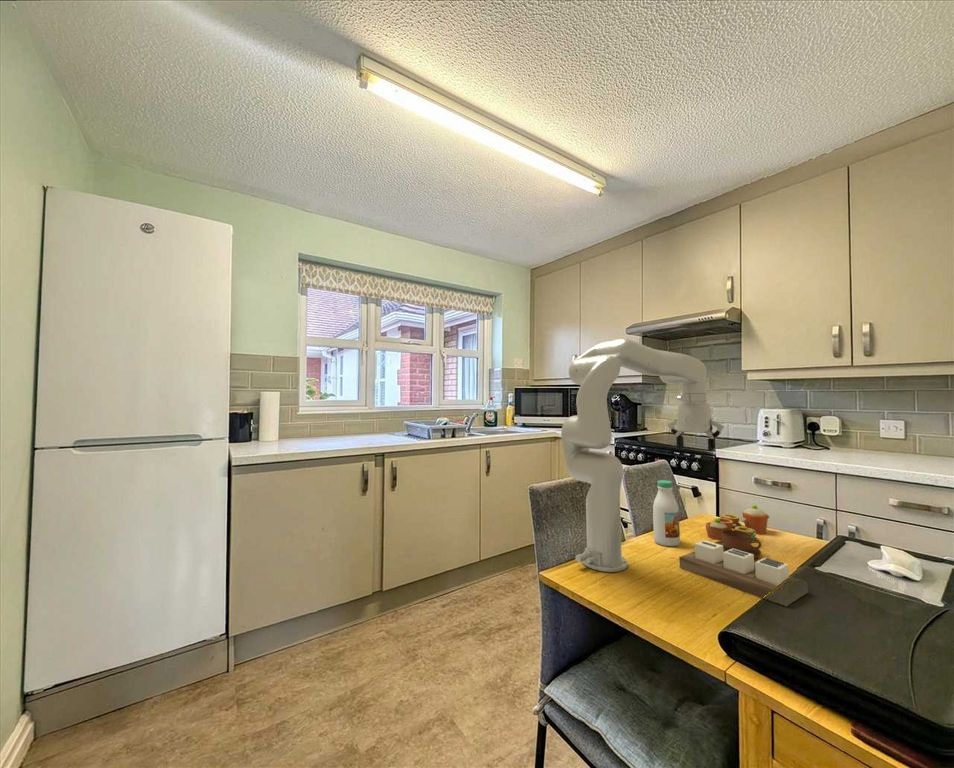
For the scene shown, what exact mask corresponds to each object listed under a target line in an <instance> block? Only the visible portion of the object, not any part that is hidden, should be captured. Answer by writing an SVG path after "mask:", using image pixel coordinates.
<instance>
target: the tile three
mask: <svg viewBox="0 0 954 768" xmlns="http://www.w3.org/2000/svg"><path fill="white" fill-rule="evenodd" d="M754 564H755V568H756V578H757V579H760V580H763V581H766V582H769V583H772V584H775V585H779V584H781V583H782V582H783V581H784V580H785V579H787V578H788V577H789V575H790V572H789V571H790V570H789V569H790V568H789V564H788V563H784V562H783V561H778V560H775V559H772V558H769V557H763V558H761V559H759V560H756V561H754Z"/></svg>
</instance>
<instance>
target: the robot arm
mask: <svg viewBox="0 0 954 768" xmlns="http://www.w3.org/2000/svg"><path fill="white" fill-rule="evenodd" d="M621 368H624V369H627V370H631V371H633V372H637V373H639V374H642V375H645V376H654V377H659V379H660V380H661V382H662V383H665V384H668V385H680V388H681V389H680V390H681V391H680V395H678V396H677V400H678V401H680V402H681V403H680V402H679V403H678V407H677V413H676V420H674V421H672V422H670V423H668V428H669V430H670V431H671V433H672V434H673V435H674V437H675V438H676V446H677V449H680V450H681V449H683V448H684V447H685V445H684V436H683V435H684V434H685V433H696V434H698V433H699V434H706V435H707V437H708V439H707V450H708V452H714V451H715V449H716V439H717V437H719V435H721V433H722V431H723V430H724V428H725V426H724V425H723V424H721V423H718V422H716V421H715V420H713V418H712V411H711V407H710V403H709V402H707V400H708V399H707V368H706V365H705V364H704V363H703V362H702V361H701V360H700V359H698V358H696V357H693V356H691V355H688V354H685V353H680V352H679V353H678V352H673V351H668V350H661V349H660V350H659V349H655V348H652V347H649V346H646V345H645V344H642V343H640V342H637V341H634V340H632V339H629V338H617V339H613V340H606V341H602V342H599V343H597V344H596V345H594V346H593V347H590V349H588V350H586V351H585V352H584V353H583V354H581V355H579V356H578V357H576V358H575V359H574V360H573V361H572V362H571V363H570V365H569V367H568V376H569V378H570V380H571V382H572V383H573V384H575V385H578V386H579V389H578V391H577V395H576V400H575V401H576V402H575V403H576V412H577V414H576V415H572V416H568V418H566V419H565V420H564V422H563V423H562V426H561V433H560V437H561V443H562V448H563V455H564V460H565V466H566V469H567V472H568V474H569V475H570V476H571V477H572V478H573V479H575V480H577V481H580V482H583V483H588V484H590V488H589V489H588V492H587V494H586V497H585V516H586V517H585V519H586V523H585V525H586V547H584V551H583V552H582V553H580V554H579V553H578V554H575V557H574V558H575V561H576V562H577V563H582V564H583V565H584V566H585V567H587V568H589V569H592V570H594V571H597V572H598V571H599V572H606V573H616V572H622V571H624V570H626V569H627V568H628V560H627V559H626V558H625V556H623V555H622V554H623V553H622V552H623V551H622V526H621V525H622V523H621V521H622V518H621V515H622V514H621V489H622V488H621V486H622V481H623V478H624V477H623V476H624V468H623V464H622V462H621V460H620V459H619V458H618V457H617V456H615V455H613V454H611V453H607V452H602V451H601V452H600V451H593V450H602V449H606V448H608V447H609V446H610V445H611V443H612V440H613V439H612V428H611V422H610V416H609V410H608V402H607V401H608V400H607V399H608V394H609V391H610V388H611V387H612V386H613V384H614V383H615V381H616V380H617V379H618V377H619V375H620V372H621ZM675 426H676V428H675ZM713 427H716V430H715V431H713V429H714V428H713ZM591 449H593V450H591Z"/></svg>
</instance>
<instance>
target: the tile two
mask: <svg viewBox="0 0 954 768" xmlns="http://www.w3.org/2000/svg"><path fill="white" fill-rule="evenodd" d="M723 561H724V568H727V569H730V570H733V571H736V572H739V573H742V574H745V575H746V574H748V573H750V572H752V571H754V564H755V558H754V554H750V553H747V552H744V551H740V550H737V549H730V550H728V551H725V552H723Z"/></svg>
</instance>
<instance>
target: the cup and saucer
mask: <svg viewBox="0 0 954 768" xmlns="http://www.w3.org/2000/svg"><path fill="white" fill-rule="evenodd" d="M752 541H756V542H757V543H758V545H756V546H755V545H752V543H753V542H752ZM714 543H716V544H719V545H723V552H725V551H728V550H730V549H737V550H740V551H744V552H747V553H750V554H754V559H756V558H758V557H760V556H761V554H762V552H761V550H760V549H761V548H762V543H761V541H760V540H759V539H758V538H757V539H753V538H752V539H751V535H749V534H748V533H745V532H742V531H736V530H735V529H732V530H724V531H722V540H717V541H715V542H714Z"/></svg>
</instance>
